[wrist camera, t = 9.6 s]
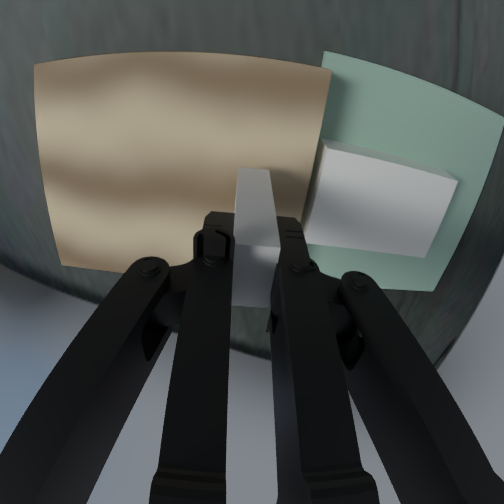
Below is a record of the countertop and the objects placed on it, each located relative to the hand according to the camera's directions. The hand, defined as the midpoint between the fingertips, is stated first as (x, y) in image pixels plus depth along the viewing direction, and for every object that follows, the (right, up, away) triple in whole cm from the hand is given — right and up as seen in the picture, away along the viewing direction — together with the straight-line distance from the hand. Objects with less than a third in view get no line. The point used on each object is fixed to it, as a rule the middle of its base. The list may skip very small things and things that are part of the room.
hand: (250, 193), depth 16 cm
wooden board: (-5, +2, +3) cm, 6 cm away
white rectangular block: (+8, +1, +3) cm, 9 cm away
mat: (+10, +1, +4) cm, 11 cm away
